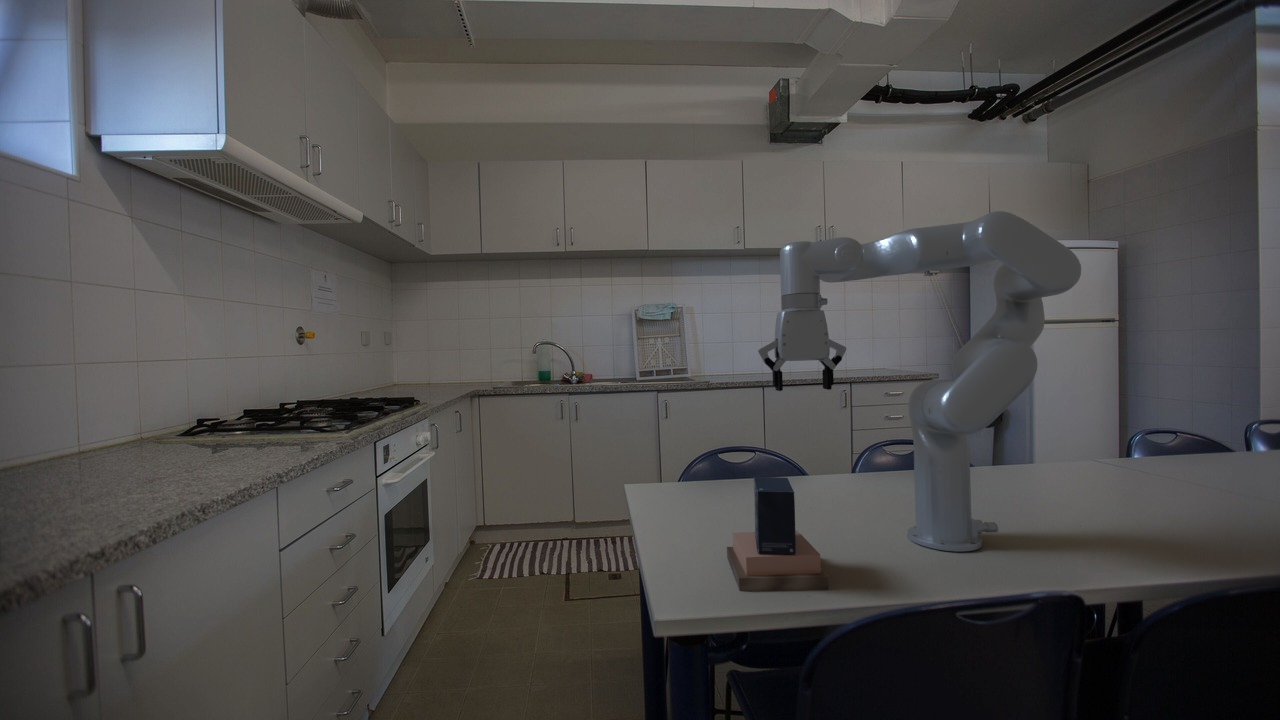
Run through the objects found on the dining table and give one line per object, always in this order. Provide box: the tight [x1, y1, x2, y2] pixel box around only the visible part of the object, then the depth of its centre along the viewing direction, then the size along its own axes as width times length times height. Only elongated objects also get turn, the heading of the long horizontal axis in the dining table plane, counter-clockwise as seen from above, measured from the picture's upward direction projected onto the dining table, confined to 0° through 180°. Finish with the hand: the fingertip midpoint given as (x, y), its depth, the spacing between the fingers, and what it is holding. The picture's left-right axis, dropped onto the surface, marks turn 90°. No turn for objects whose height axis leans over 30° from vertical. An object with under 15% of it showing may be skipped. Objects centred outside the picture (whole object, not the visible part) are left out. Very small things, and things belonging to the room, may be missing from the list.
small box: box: [753, 476, 796, 555], centre depth 89 cm, size 11×6×10 cm, turn 170°
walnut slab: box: [726, 546, 829, 592], centre depth 90 cm, size 14×14×3 cm
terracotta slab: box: [731, 529, 822, 576], centre depth 90 cm, size 12×12×3 cm
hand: (803, 389), depth 104 cm, fingers open, 9 cm apart
